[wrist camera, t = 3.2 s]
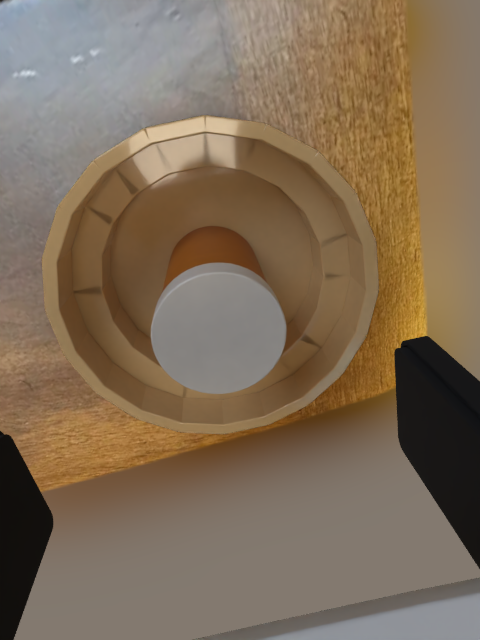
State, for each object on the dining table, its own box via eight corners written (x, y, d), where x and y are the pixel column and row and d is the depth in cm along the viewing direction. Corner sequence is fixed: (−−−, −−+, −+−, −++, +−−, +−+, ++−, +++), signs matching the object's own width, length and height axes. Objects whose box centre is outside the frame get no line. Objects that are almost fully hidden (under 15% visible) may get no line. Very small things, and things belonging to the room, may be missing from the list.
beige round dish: (329, 91, 20) (367, 79, 15) (353, 352, 26) (386, 400, 21) (31, 154, 20) (-19, 161, 15) (123, 401, 26) (106, 459, 21)
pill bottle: (250, 214, 21) (275, 258, 14) (265, 302, 23) (295, 379, 16) (156, 234, 21) (133, 288, 14) (179, 320, 23) (170, 406, 16)
